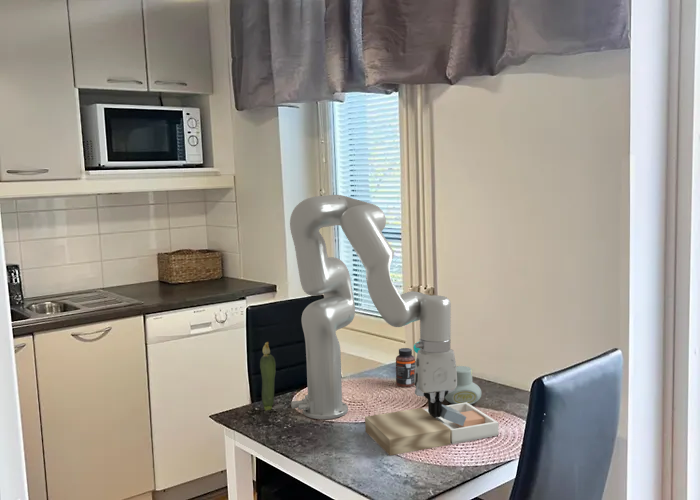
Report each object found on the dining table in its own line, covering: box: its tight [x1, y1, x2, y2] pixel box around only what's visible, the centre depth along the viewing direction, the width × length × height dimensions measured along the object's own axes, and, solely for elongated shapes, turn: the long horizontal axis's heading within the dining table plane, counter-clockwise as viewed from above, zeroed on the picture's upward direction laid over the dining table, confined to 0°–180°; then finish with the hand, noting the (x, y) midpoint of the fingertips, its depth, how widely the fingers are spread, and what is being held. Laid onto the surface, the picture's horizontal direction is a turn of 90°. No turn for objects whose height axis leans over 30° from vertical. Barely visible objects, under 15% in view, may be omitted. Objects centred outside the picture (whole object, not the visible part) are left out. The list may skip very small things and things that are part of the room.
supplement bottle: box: [395, 347, 416, 388], centre depth 214 cm, size 6×6×11 cm
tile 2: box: [454, 411, 485, 428], centre depth 180 cm, size 6×6×2 cm
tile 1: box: [440, 403, 466, 426], centre depth 177 cm, size 6×6×2 cm
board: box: [364, 407, 451, 456], centre depth 174 cm, size 16×16×4 cm
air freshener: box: [444, 365, 482, 405], centre depth 198 cm, size 11×8×10 cm
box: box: [423, 402, 500, 445], centre depth 179 cm, size 13×16×4 cm
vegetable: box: [259, 341, 277, 412], centre depth 195 cm, size 4×4×20 cm
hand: (434, 415), depth 176 cm, fingers closed
